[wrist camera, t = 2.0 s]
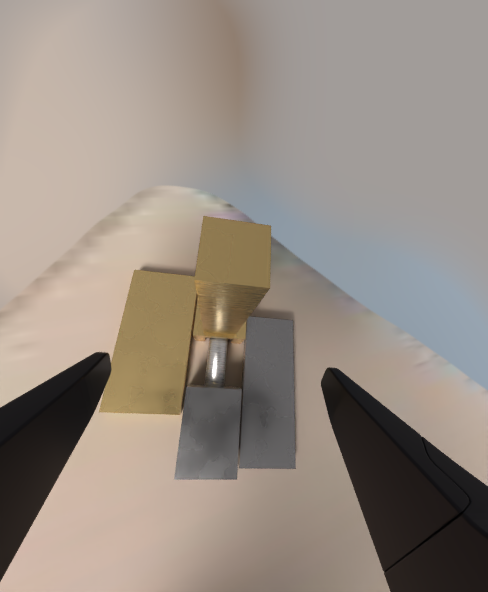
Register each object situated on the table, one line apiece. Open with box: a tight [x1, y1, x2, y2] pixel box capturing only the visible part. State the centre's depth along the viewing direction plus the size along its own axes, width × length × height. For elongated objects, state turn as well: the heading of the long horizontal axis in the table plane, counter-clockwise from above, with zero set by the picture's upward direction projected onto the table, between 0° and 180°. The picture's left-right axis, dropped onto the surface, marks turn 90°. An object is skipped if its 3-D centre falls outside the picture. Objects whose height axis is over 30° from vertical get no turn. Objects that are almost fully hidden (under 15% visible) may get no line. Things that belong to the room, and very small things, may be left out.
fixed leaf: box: [174, 316, 296, 479], centre depth 19 cm, size 15×9×3 cm, turn 177°
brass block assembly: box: [99, 216, 271, 415], centre depth 13 cm, size 12×11×14 cm
